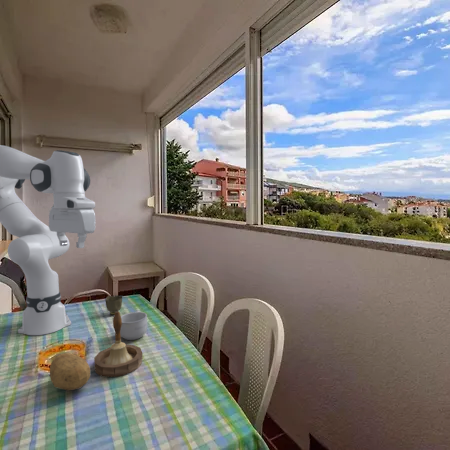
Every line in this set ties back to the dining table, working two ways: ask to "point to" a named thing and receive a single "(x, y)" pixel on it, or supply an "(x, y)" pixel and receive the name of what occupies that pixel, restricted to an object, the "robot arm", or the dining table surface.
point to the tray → (117, 369)
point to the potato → (69, 371)
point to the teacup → (133, 325)
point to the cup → (113, 303)
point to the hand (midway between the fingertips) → (71, 246)
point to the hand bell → (118, 345)
